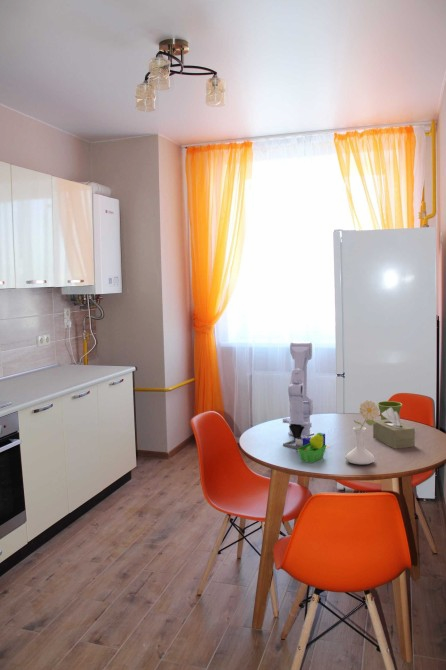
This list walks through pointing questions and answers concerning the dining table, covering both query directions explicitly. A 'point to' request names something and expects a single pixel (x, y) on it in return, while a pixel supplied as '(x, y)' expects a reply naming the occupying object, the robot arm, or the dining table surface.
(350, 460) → the flower in vase
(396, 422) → the tissue box
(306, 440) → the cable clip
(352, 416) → the dining table surface
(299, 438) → the block
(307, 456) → the fruit basket
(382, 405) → the plant pot
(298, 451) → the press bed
